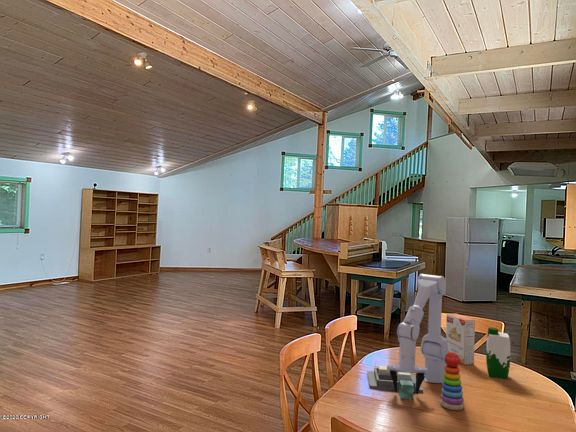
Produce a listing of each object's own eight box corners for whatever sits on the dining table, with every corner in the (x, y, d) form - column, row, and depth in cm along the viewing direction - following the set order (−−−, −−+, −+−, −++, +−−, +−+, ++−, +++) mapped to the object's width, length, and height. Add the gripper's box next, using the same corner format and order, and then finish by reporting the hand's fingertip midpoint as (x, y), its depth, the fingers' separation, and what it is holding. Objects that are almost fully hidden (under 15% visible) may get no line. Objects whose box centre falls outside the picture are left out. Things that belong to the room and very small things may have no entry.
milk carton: (485, 370, 185) (486, 325, 185) (508, 374, 181) (509, 328, 182) (486, 377, 177) (488, 330, 177) (510, 381, 173) (511, 333, 173)
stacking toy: (463, 403, 149) (464, 351, 150) (464, 413, 142) (466, 358, 142) (439, 399, 152) (441, 348, 152) (440, 408, 144) (441, 354, 145)
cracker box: (444, 355, 204) (445, 313, 205) (455, 355, 206) (456, 313, 206) (463, 365, 191) (464, 320, 191) (474, 364, 192) (475, 319, 192)
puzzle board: (415, 377, 174) (416, 364, 174) (423, 392, 158) (423, 378, 158) (367, 373, 176) (367, 360, 176) (369, 388, 160) (370, 373, 160)
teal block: (411, 394, 156) (411, 381, 156) (413, 399, 152) (413, 385, 152) (399, 393, 157) (399, 380, 157) (400, 398, 152) (401, 384, 152)
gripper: (388, 357, 151) (387, 394, 151) (429, 360, 149) (428, 398, 149) (386, 351, 158) (385, 387, 158) (425, 354, 156) (424, 390, 156)
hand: (406, 392), depth 154 cm, fingers open, 7 cm apart
